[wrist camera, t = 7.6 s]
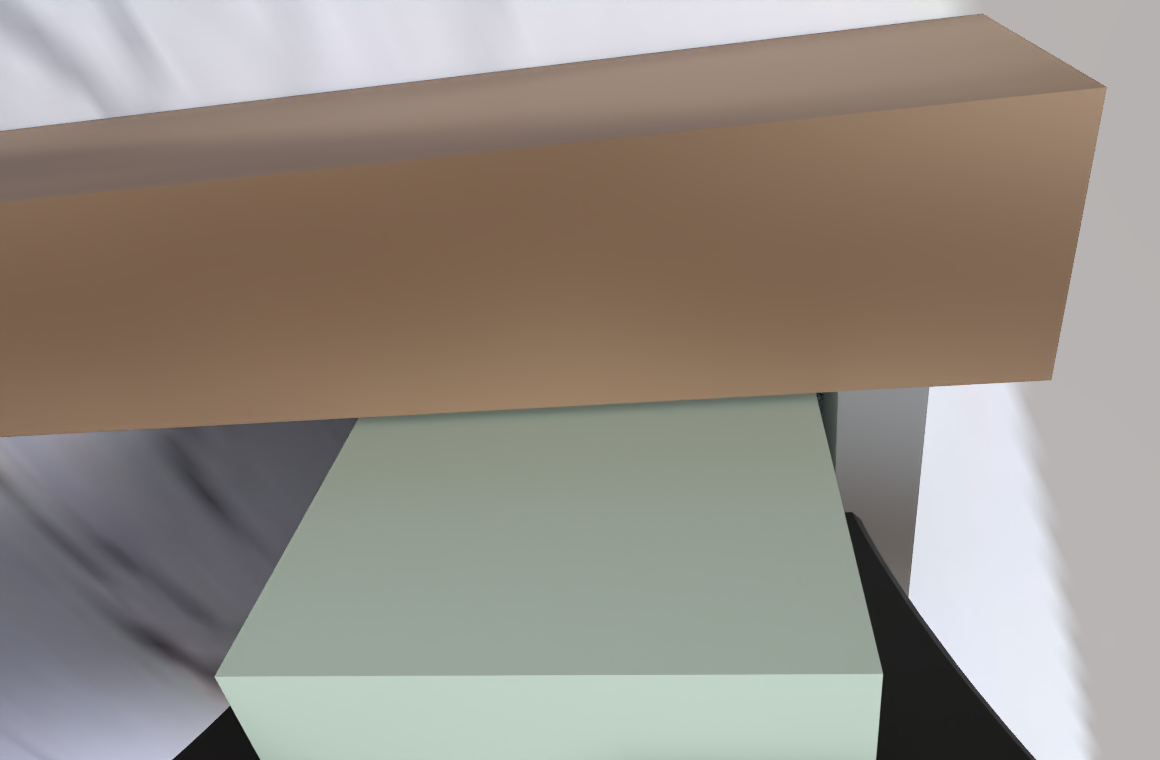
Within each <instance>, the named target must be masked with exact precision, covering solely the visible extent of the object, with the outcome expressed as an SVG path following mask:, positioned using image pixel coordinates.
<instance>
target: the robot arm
mask: <svg viewBox="0 0 1160 760" xmlns="http://www.w3.org/2000/svg"><path fill="white" fill-rule="evenodd" d="M844 513H845V517H846V521H847V525H848V530H849V534H850V538H851V542H852V546H853V551H854V555H855V559H856V563H857V567H858V571H859V576H860V580H861V584H862V588H863V592H864V596H865V601H866V605H867V609H868V613H869V617H870V622H871V626H872V630H873V634H874V638H875V642H876V647H877V651H878V655H879V659H880V663H881V667H882V672H883V681H882V693H881V705H880V718H879V730H878V742H877V754H876V760H1036V759H1035V758H1034V757H1033V756H1032V755H1031V753H1030V752H1029V751H1028V750H1027V749H1026V748H1025V747H1024V745H1023V744H1022V743H1021V742H1020V741H1019V740H1018V739H1017V737H1016V736H1015V735H1014V734H1013V733H1012V732H1011V730H1010V729H1009V728H1008V727H1007V726H1006V725H1005V723H1004V722H1003V721H1002V720H1001V719H1000V717H999V716H998V715H997V714H996V712H995V711H994V710H993V709H992V708H991V706H990V705H989V704H988V703H987V702H986V700H985V699H984V698H983V697H982V696H981V694H980V693H979V692H978V691H977V689H976V688H975V687H974V686H973V684H972V683H971V682H970V681H969V679H968V678H967V677H966V676H965V674H964V673H963V672H962V670H961V669H960V668H959V667H958V665H957V664H956V663H955V661H954V660H953V659H952V657H951V656H950V655H949V653H948V652H947V651H946V649H945V648H944V646H943V645H942V644H941V642H940V641H939V640H938V638H937V637H936V636H935V634H934V633H933V632H932V630H931V629H930V628H929V626H928V625H927V624H926V622H925V621H924V619H923V618H922V617H921V615H920V614H919V612H918V611H917V609H916V608H915V607H914V605H913V604H912V602H911V601H910V599H909V598H908V596H907V595H906V593H905V592H904V590H903V589H902V587H901V586H900V584H899V583H898V581H897V580H896V578H895V577H894V575H893V574H892V572H891V570H890V569H889V567H888V566H887V564H886V562H885V561H884V559H883V558H882V556H881V554H880V553H879V551H878V549H877V548H876V546H875V544H874V542H873V541H872V539H871V537H870V535H869V534H868V532H867V530H866V528H865V526H864V524H863V522H862V520H861V519H860V518H859V517H857V516H856V515H855V514H854V513H853V512H844ZM173 760H260V758H259V756H258V755H257V753H256V751H255V749H254V747H253V746H252V744H251V742H250V740H249V738H248V737H247V735H246V733H245V731H244V729H243V727H242V726H241V724H240V722H239V720H238V718H237V717H236V715H235V713H234V711H233V709H232V708H231V706H229V707H228V708H227V709H226V710H225V711H224V712H223V713H222V714H221V715H220V716H219V717H218V718H217V719H216V720H215V721H214V722H213V723H212V724H211V725H210V726H209V727H208V728H207V729H206V730H205V731H204V732H202V733H201V734H200V735H199V736H198V737H197V738H196V739H195V740H194V741H193V742H192V743H191V744H189V745H188V746H187V747H186V748H185V749H184V750H183V751H182V752H181V753H179V754H178V755H177V756H176V757H175V758H174V759H173Z"/></svg>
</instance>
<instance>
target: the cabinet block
mask: <svg viewBox="0 0 1160 760" xmlns="http://www.w3.org/2000/svg"><path fill="white" fill-rule="evenodd" d="M214 677H215V679H216V680H217V682H218V684H219V686H220V688H221V689H222V691H223V693H224V695H225V697H226V698H227V700H228V702H229V704H230V706H231V708H232V709H233V711H234V713H235V715H236V717H237V718H238V720H239V722H240V724H241V726H242V727H243V729H244V731H245V733H246V735H247V737H248V738H249V740H250V742H251V744H252V746H253V747H254V749H255V751H256V753H257V755H258V756H259V758H260V760H876V754H877V742H878V730H879V718H880V705H881V693H882V681H883V672H882V667H881V663H880V659H879V655H878V651H877V647H876V642H875V638H874V634H873V630H872V626H871V622H870V617H869V613H868V609H867V605H866V601H865V596H864V592H863V588H862V584H861V580H860V576H859V571H858V567H857V563H856V559H855V555H854V551H853V546H852V542H851V538H850V534H849V530H848V525H847V521H846V517H845V513H844V509H843V505H842V500H841V496H840V492H839V488H838V484H837V480H836V475H835V471H834V467H833V463H832V459H831V454H830V450H829V446H828V442H827V438H826V434H825V429H824V425H823V421H822V417H821V413H820V409H819V404H818V400H817V396H816V393H804V394H785V395H767V396H749V397H730V398H712V399H693V400H675V401H656V402H638V403H620V404H601V405H583V406H564V407H546V408H527V409H509V410H491V411H472V412H454V413H435V414H417V415H399V416H380V417H362V418H358V420H357V422H356V424H355V425H354V427H353V429H352V431H351V433H350V434H349V436H348V438H347V440H346V442H345V443H344V445H343V447H342V449H341V451H340V452H339V454H338V456H337V458H336V460H335V461H334V463H333V465H332V467H331V469H330V470H329V472H328V474H327V476H326V477H325V479H324V481H323V483H322V485H321V486H320V488H319V490H318V492H317V494H316V495H315V497H314V499H313V501H312V503H311V504H310V506H309V508H308V510H307V512H306V513H305V515H304V517H303V519H302V521H301V522H300V524H299V526H298V528H297V529H296V531H295V533H294V535H293V537H292V538H291V540H290V542H289V544H288V546H287V547H286V549H285V551H284V553H283V555H282V556H281V558H280V560H279V562H278V564H277V565H276V567H275V569H274V571H273V573H272V574H271V576H270V578H269V580H268V581H267V583H266V585H265V587H264V589H263V590H262V592H261V594H260V596H259V598H258V599H257V601H256V603H255V605H254V607H253V608H252V610H251V612H250V614H249V616H248V617H247V619H246V621H245V623H244V624H243V626H242V628H241V630H240V632H239V633H238V635H237V637H236V639H235V641H234V642H233V644H232V646H231V648H230V650H229V651H228V653H227V655H226V657H225V659H224V660H223V662H222V664H221V666H220V668H219V669H218V671H217V673H216V675H215V676H214Z"/></svg>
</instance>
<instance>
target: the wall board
mask: <svg viewBox="0 0 1160 760" xmlns="http://www.w3.org/2000/svg"><path fill="white" fill-rule="evenodd" d="M1106 88H1107V87H1106V86H1104V85H1102V84H1100V83H1099V82H1097V81H1095V80H1094V79H1092V78H1090V77H1088V76H1087V75H1085V74H1084V73H1082V72H1080V71H1079V70H1077V69H1075V68H1074V67H1072V66H1070V65H1068V64H1067V63H1065V62H1063V61H1061V60H1060V59H1058V58H1057V57H1055V56H1053V55H1051V54H1050V53H1048V52H1046V51H1045V50H1043V49H1041V48H1039V47H1038V46H1036V45H1035V44H1033V43H1031V42H1030V41H1028V40H1026V39H1024V38H1023V37H1021V36H1019V35H1018V34H1016V33H1014V32H1013V31H1011V30H1009V29H1008V28H1006V27H1004V26H1002V25H1001V24H999V23H997V22H996V21H994V20H992V19H991V18H989V17H987V16H986V15H984V14H977V15H968V16H960V17H951V18H943V19H935V20H926V21H918V22H910V23H901V24H893V25H885V26H876V27H868V28H860V29H851V30H843V31H835V32H826V33H818V34H810V35H801V36H793V37H784V38H776V39H768V40H759V41H751V42H743V43H734V44H726V45H718V46H709V47H701V48H693V49H684V50H676V51H668V52H659V53H651V54H642V55H634V56H626V57H617V58H609V59H601V60H592V61H584V62H576V63H567V64H559V65H551V66H542V67H534V68H526V69H517V70H509V71H501V72H492V73H484V74H475V75H467V76H459V77H450V78H442V79H434V80H425V81H417V82H409V83H400V84H392V85H384V86H375V87H367V88H359V89H350V90H342V91H333V92H325V93H317V94H308V95H300V96H292V97H283V98H275V99H267V100H258V101H250V102H242V103H233V104H225V105H217V106H208V107H200V108H192V109H183V110H175V111H166V112H158V113H150V114H141V115H133V116H125V117H116V118H108V119H100V120H91V121H83V122H75V123H66V124H58V125H50V126H41V127H33V128H24V129H16V130H8V131H0V437H12V436H30V435H48V434H67V433H85V432H104V431H122V430H141V429H159V428H177V427H196V426H214V425H233V424H251V423H270V422H288V421H306V420H325V419H343V418H362V417H380V416H399V415H417V414H435V413H454V412H472V411H491V410H509V409H527V408H546V407H564V406H583V405H601V404H620V403H638V402H656V401H675V400H693V399H712V398H730V397H749V396H767V395H785V394H804V393H822V392H823V399H822V421H823V425H824V429H825V434H826V438H827V442H828V446H829V450H830V454H831V459H832V463H833V467H834V471H835V475H836V480H837V484H838V488H839V492H840V496H841V500H842V505H843V509H844V512H853V513H854V514H855V515H856V516H857V517H859V518H860V519H861V520H862V522H863V524H864V526H865V528H866V530H867V532H868V534H869V535H870V537H871V539H872V541H873V542H874V544H875V546H876V548H877V549H878V551H879V553H880V554H881V556H882V558H883V559H884V561H885V562H886V564H887V566H888V567H889V569H890V570H891V572H892V574H893V575H894V577H895V578H896V580H897V581H898V583H899V584H900V586H901V587H902V589H903V590H904V592H905V593H906V595H907V596H908V594H909V584H910V574H911V564H912V554H913V544H914V534H915V524H916V514H917V504H918V494H919V484H920V474H921V464H922V454H923V444H924V434H925V424H926V414H927V404H928V394H929V387H933V386H951V385H970V384H988V383H1006V382H1025V381H1043V380H1051V378H1052V373H1053V368H1054V363H1055V358H1056V352H1057V347H1058V342H1059V336H1060V331H1061V326H1062V321H1063V315H1064V309H1065V304H1066V300H1067V294H1068V289H1069V284H1070V278H1071V273H1072V267H1073V263H1074V257H1075V252H1076V247H1077V241H1078V236H1079V231H1080V226H1081V220H1082V215H1083V210H1084V204H1085V199H1086V194H1087V189H1088V183H1089V178H1090V173H1091V168H1092V162H1093V157H1094V152H1095V146H1096V141H1097V136H1098V131H1099V125H1100V120H1101V115H1102V110H1103V104H1104V99H1105V93H1106Z"/></svg>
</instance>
